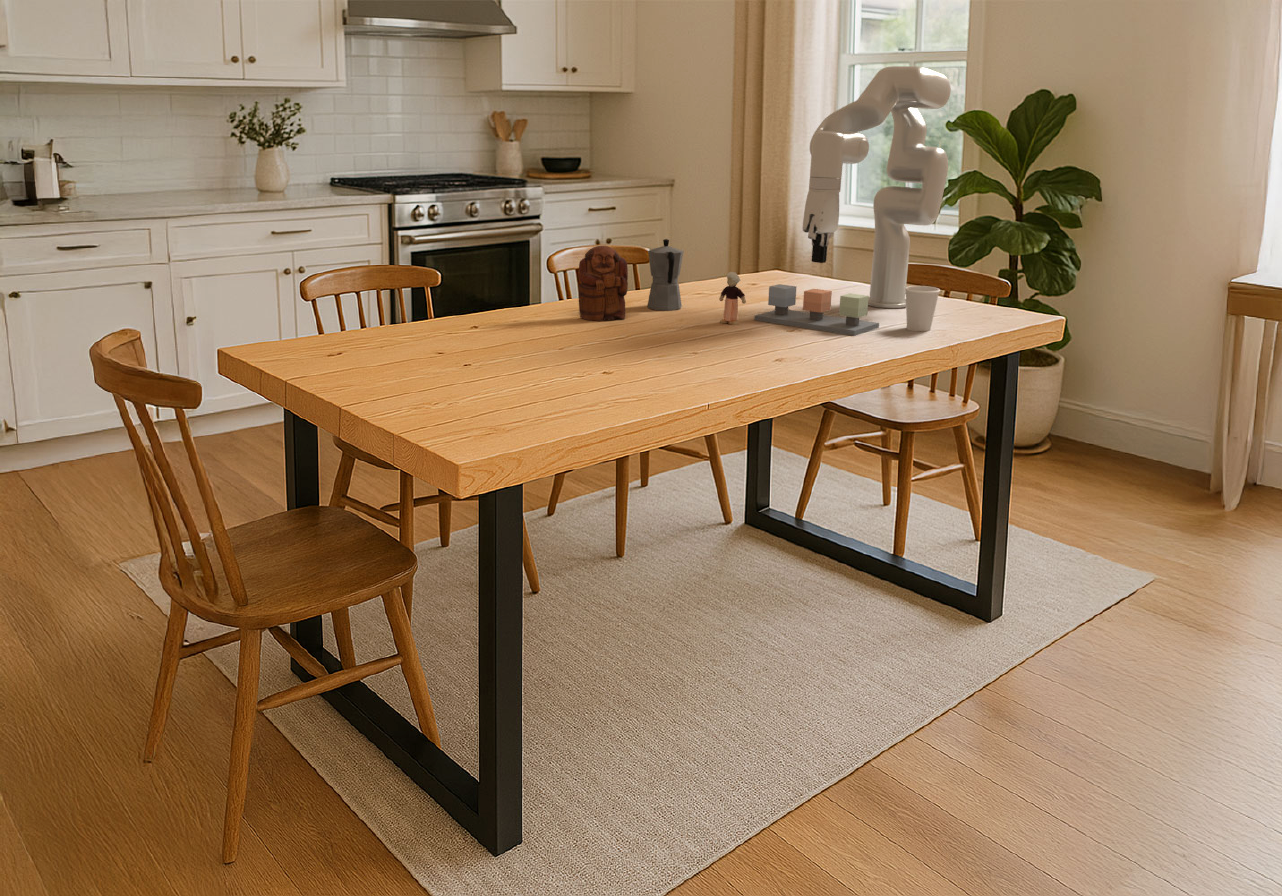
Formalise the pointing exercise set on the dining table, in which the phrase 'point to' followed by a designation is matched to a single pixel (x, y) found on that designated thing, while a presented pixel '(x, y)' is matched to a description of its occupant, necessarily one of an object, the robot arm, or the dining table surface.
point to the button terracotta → (817, 300)
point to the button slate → (782, 295)
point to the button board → (817, 321)
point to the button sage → (853, 305)
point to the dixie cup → (920, 307)
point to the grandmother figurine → (731, 299)
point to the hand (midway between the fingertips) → (818, 262)
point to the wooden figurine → (602, 284)
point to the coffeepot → (665, 278)
